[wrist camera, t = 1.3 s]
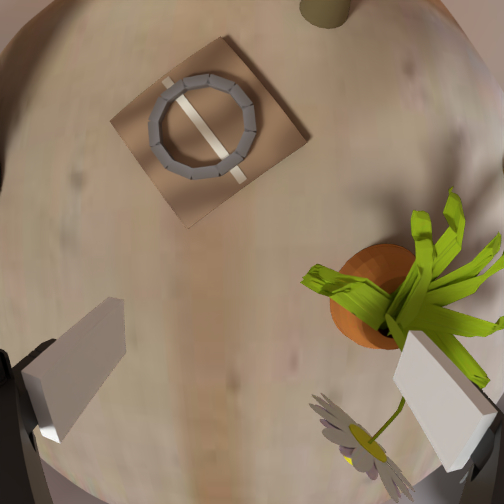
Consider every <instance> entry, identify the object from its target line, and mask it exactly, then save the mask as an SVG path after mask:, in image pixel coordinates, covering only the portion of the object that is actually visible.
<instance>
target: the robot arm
mask: <svg viewBox="0 0 504 504" xmlns="http://www.w3.org/2000/svg"><path fill="white" fill-rule="evenodd" d="M0 182H1V166H0ZM125 353H126V343H125V324H124V300H123V299H117V298H112V297H108V298H107V299H106V300H104V301H103V302H102V303H101V304H99V305H98V306H97V307H96V308H95V309H93V310H92V311H91V312H90V313H88V314H87V315H86V316H85V317H84V318H82V319H81V320H80V321H79V322H78V323H76V324H75V325H74V326H73V327H72V328H70V329H69V330H68V331H67V332H66V333H64V334H63V335H62V336H61V337H60V338H59V339H57V340H56V339H50V340H48V341H46V342H43V343H41V344H40V345H39V346H38V347H37V348H35V350H34V351H32V352H31V353H29V354H28V356H26V357H25V358H23V359H22V360H21V361H20V362H19V363H18V364H16V365H15V366H14V367H13V368H11V364H10V360H9V357H8V354H7V352H5V351H4V350H2V349H0V504H53V501H52V498H51V496H50V493H49V489H48V486H47V482H46V479H45V476H44V472H43V468H42V464H41V460H40V456H39V452H38V448H37V443H36V438H35V435H34V433H33V429H34V428H35V427H36V426H37V424H38V425H39V428H40V431H41V433H42V436H44V437H46V438H49V439H51V440H53V441H56V442H58V443H61V442H62V440H63V439H64V438H65V436H66V435H67V433H68V432H69V430H70V429H71V428H72V426H73V425H74V423H75V422H76V420H77V419H78V418H79V416H80V415H81V413H82V412H83V411H84V409H85V408H86V406H87V405H88V404H89V402H90V401H91V399H92V398H93V397H94V395H95V394H96V392H97V391H98V390H99V388H100V387H101V386H102V384H103V383H104V381H105V380H106V379H107V377H108V376H109V375H110V373H111V372H112V371H113V369H114V368H115V367H116V365H117V364H118V363H119V361H120V360H121V358H122V357H123V356H124V354H125ZM393 380H394V382H395V384H396V385H397V387H398V389H399V390H400V392H401V394H402V395H403V397H404V398H405V400H406V402H407V403H408V405H409V407H410V409H411V410H412V412H413V414H414V415H415V417H416V419H417V420H418V422H419V424H420V426H421V427H422V429H423V431H424V432H425V434H426V436H427V438H428V439H429V441H430V443H431V445H432V446H433V448H434V450H435V452H436V454H437V455H438V457H439V459H440V461H441V463H442V464H443V466H444V468H445V470H446V471H447V472H450V471H454V470H458V469H461V468H463V466H464V465H465V464H466V462H467V461H468V459H469V458H470V457H471V459H472V460H473V462H474V463H473V464H472V466H471V467H470V468H469V470H468V471H467V473H466V474H465V475H464V477H463V478H462V479H461V481H460V482H459V483H462V482H463V481H464V480H465V479H466V483H465V486H464V490H463V493H462V496H461V499H460V503H459V504H504V414H503V413H502V412H501V410H500V409H499V408H498V407H497V406H496V405H495V404H494V403H493V401H492V400H491V399H490V398H488V396H487V395H486V394H485V393H483V390H482V389H481V388H480V387H479V386H478V385H477V384H476V383H474V382H472V381H471V380H469V379H468V378H467V377H466V376H465V375H464V374H463V373H462V372H461V371H460V370H459V368H458V367H457V366H456V365H455V364H454V363H453V362H452V361H451V360H450V359H449V358H448V357H447V356H446V355H445V354H444V353H443V352H442V351H441V350H440V349H439V348H438V347H437V345H436V344H435V343H434V342H433V341H432V340H431V339H430V338H429V337H428V336H427V335H426V334H425V333H424V332H423V331H411V330H409V332H408V335H407V339H406V342H405V345H404V348H403V351H402V354H401V357H400V360H399V363H398V366H397V369H396V371H395V374H394V377H393Z"/></svg>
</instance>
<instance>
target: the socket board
mask: <svg viewBox="0 0 504 504" xmlns="http://www.w3.org/2000/svg"><path fill="white" fill-rule="evenodd" d="M110 122H111V124H112V125H113V127H114V128H115V130H116V131H117V132H118V134H119V135H120V137H121V138H122V140H123V141H124V142H125V144H126V145H127V147H128V148H129V150H130V151H131V153H132V154H133V155H134V157H135V158H136V160H137V161H138V162H139V164H140V165H141V167H142V168H143V169H144V171H145V172H146V174H147V175H148V176H149V178H150V179H151V181H152V182H153V183H154V185H155V186H156V188H157V189H158V190H159V192H160V193H161V195H162V196H163V197H164V199H165V200H166V201H167V203H168V204H169V205H170V207H171V208H172V210H173V211H174V212H175V214H176V215H177V216H178V218H179V219H180V220H181V222H182V223H183V224H184V226H185V227H186V229H188V228H190V227H191V226H192V225H194V224H195V223H196V222H198V221H199V220H200V219H202V218H203V217H204V216H206V215H207V214H208V213H210V212H211V211H212V210H214V209H215V208H216V207H218V206H219V205H220V204H222V203H223V202H224V201H226V200H227V199H228V198H230V197H231V196H233V195H234V194H235V193H237V192H238V191H239V190H241V189H242V188H243V187H245V186H246V185H248V184H249V183H250V182H252V181H253V180H255V179H256V178H257V177H259V176H260V175H262V174H263V173H264V172H266V171H267V170H269V169H270V168H272V167H273V166H274V165H276V164H277V163H279V162H280V161H282V160H283V159H284V158H286V157H287V156H289V155H290V154H292V153H293V152H295V151H296V150H298V149H299V148H300V147H302V146H303V145H305V144H306V143H307V142H306V140H305V139H304V138H303V136H302V135H301V134H300V132H299V131H298V129H297V128H296V127H295V125H294V124H293V123H292V122H291V120H290V119H289V118H288V116H287V115H286V114H285V112H284V111H283V110H282V109H281V107H280V106H279V105H278V103H277V102H276V101H275V100H274V98H273V97H272V96H271V95H270V93H269V92H268V91H267V90H266V88H265V87H264V86H263V85H262V84H261V82H260V81H259V80H258V79H257V78H256V76H255V75H254V74H253V73H252V72H251V70H250V69H249V68H248V67H247V66H246V65H245V63H244V62H243V61H242V60H241V59H240V58H239V56H238V55H237V54H236V53H235V52H234V51H233V50H232V49H231V47H230V46H229V45H228V44H227V43H226V42H225V41H224V40H223V39H222V38H221V37H219V38H217V39H216V40H214V41H213V42H211V43H210V44H208V45H207V46H205V47H204V48H202V49H201V50H199V51H198V52H196V53H195V54H193V55H192V56H190V57H189V58H187V59H186V60H185V61H183V62H182V63H180V64H179V65H178V66H176V67H175V68H173V69H172V70H171V71H169V72H168V73H167V74H165V75H164V76H163V77H161V78H160V79H159V80H158V81H156V82H155V83H154V84H152V85H151V86H150V87H149V88H147V89H146V90H145V91H144V92H143V93H141V94H140V95H139V96H138V97H136V98H135V99H134V100H133V101H132V102H131V103H129V104H128V105H127V106H126V107H125V108H124V109H122V110H121V111H120V112H119V113H118V114H117V115H116V116H115V117H114V118H112V119H111V120H110Z"/></svg>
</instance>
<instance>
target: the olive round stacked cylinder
mask: <svg viewBox="0 0 504 504" xmlns="http://www.w3.org/2000/svg"><path fill="white" fill-rule="evenodd" d="M350 3H351V0H301V2H300V11H301V14H302V16H303V17H304V18H305V19H306V20H307V21H308V22H310V23H311V24H312V25H315V26H317V27H320V28H326V29H330V28H336V27H339V26H341V25H342V24H343V23H344V22H345V21H346V19H347V16H348V12H349V8H350Z"/></svg>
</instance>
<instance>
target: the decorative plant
mask: <svg viewBox="0 0 504 504" xmlns="http://www.w3.org/2000/svg"><path fill="white" fill-rule="evenodd" d="M453 187H454V186H453ZM453 187H451V188H450V189H449V190H448V191H449V196H448V199H447V202H446V205H445V208H444V211H443V214H444V216H445V218H446V220H447V222H448V224H449V227H448V229H447V230H446V231H445V233H444V234H443V235H442V236H441V238H440V239H439V240H438V241H437V243H436V244H435V245H433V241H432V227H431V220H430V217H429V214H428V213H427V212H425V211H416V210H413V213H412V217H411V232H412V237H413V239H414V241H415V251H416V257H415V256H414V255H413V254H412V253H411V252H410V251H409V250H407V249H405V248H404V247H401V246H398V245H395V244H378V245H373V246H371V247H368V248H365V249H363V250H362V251H360V252H358V253H357V254H355V255H354V256H353V257H352V258H351V259H349V260H348V261H347V262H346V264H345V265H344V266H343V267H342V269H341V270H340V271H339V272H336V271H334V270H332V269H329V268H327V267H325V266H322V265H320V264H316V265H314V266H313V267H311V269H310V270H309V272H308V273H307V274H306V275H305V276H304V277H302V278H303V279H304V280H303V281H301V282H300V283H302V284H303V285H305V286H306V287H308V288H310V289H311V290H313V291H315V292H316V293H319V294H322V295H325V296H328V297H330V311H331V314H332V318H333V320H334V322H335V324H336V326H337V328H338V329H339V330H340V331H341V332H342V333H343V334H344V335H345V336H347V337H348V338H350V339H351V340H353V341H354V342H356V343H357V344H359V345H361V346H364V347H367V348H373V349H386V350H392V349H398V348H399V349H400V350H401V352H402V351H403V348H404V345H405V342H406V339H407V335H408V332H409V330H411V331H423V332H424V333H425V334H426V335H427V336H428V337H429V338H430V339H431V340H432V341H433V342H434V343H435V344H436V345H437V347H438V348H439V349H440V350H441V351H442V352H443V353H444V354H445V355H446V356H447V357H448V358H449V359H450V360H451V361H452V362H453V363H454V364H455V365H456V366H457V367H458V368H459V370H460V371H461V372H462V373H463V374H464V375H465V376H466V377H467V378H468V379H469V380H471V381H472V382H474V383H476V384H477V385H478V386H479V387H480V388H481V389H482V388H484V387H486V385H487V384H488V382H489V381H490V379H489V378H488V377H487V374H486V373H485V372H484V370H483V369H482V368H481V367H480V366H479V364H478V363H477V362H476V361H475V360H474V358H473V357H472V356H471V355H470V354H469V353H468V351H467V350H466V349H465V348H464V347H463V346H462V344H461V343H460V342H459V341H458V340H457V339H456V338H455V336H454V335H453V334H455V335H460V336H465V337H473V336H481V337H486V336H488V335H491V334H492V333H494V332H495V331H497V330H501V329H504V316H502V317H500V318H499V319H498V321H497V322H496V323H495V324H494V323H491V322H488V321H485V320H481V319H478V318H475V317H472V316H469V315H465V314H462V313H459V312H456V311H453V310H449V309H446V308H443V306H446V305H448V304H450V303H453V302H455V301H457V300H460V299H462V298H464V297H466V296H469V295H471V294H473V293H475V292H476V291H477V289H478V288H479V286H480V285H481V284H482V283H483V282H484V281H485V280H486V279H487V278H488V277H489V276H491V275H493V274H494V273H496V272H497V271H499V270H501V269H503V268H504V252H503V254H502V256H501V257H500V258H499V259H498V261H497V262H496V263H495V264H494V265H493V266H491V267H490V268H489V269H488V270H487V271H486V272H485V273H484V274H483V275H480V276H477V275H478V274H479V272H480V271H481V270H482V269H483V268H484V267H485V266H486V265H487V264H488V263H489V262H490V261H491V260H492V259H493V257H494V255H495V254H496V253H497V252H498V251H499V250H500V245H501V234H500V233H499V232H498V234H497V235H496V237H495V238H494V239H493V240H492V241H491V242H490V243H489V244H488V245H487V246H486V247H485V248H484V249H483V250H482V251H481V252H480V253H479V254H478V255H477V256H476V257H475V258H474V259H473V260H472V261H471V262H470V263H468V264H466V265H464V266H462V267H460V268H459V269H457V270H455V271H453V272H451V273H449V274H447V275H445V276H443V277H441V278H439V279H437V280H435V279H436V278H437V277H438V276H439V275H440V274H441V273H442V272H443V270H444V269H445V268H446V267H447V266H448V265H449V263H450V262H451V261H452V260H453V259H454V258H455V256H456V255H457V254H458V253H459V252H460V250H461V249H462V246H461V245H462V239H463V233H464V227H465V217H464V213H463V208H462V203H461V199H460V197H459V196H458V195H457V194H455V193H453V192H451V191H452V189H453ZM476 276H477V277H476ZM321 395H322V396H323V397H324V398H325V400H326V401H327V402H328V403H329V404H328V403H326V402H325V401H324V400H322V399H321V398H320V397H318V396H317V397H316V396H315V395H312V396H313V397H314V398H315V399H316V401H318V402H319V403H320V404H321V405H322V406H323V407H324V408H325V409H324V408H322V407H321V406H319V405H313V404H309V405H310V407H311V408H312V409H313V410H314V411H315V412H317V413H318V414H319V415H320V416H322V417H323V418H324V419H326V420H324V419H320V422H321V423H322V424H323V425H324V426H325V427H327V428H325V429H323V430H322V433H323V435H324V436H325V437H326V438H327V439H328V440H330V441H331V442H333V443H335V444H338V445H340V446H339V450H340V452H341V453H342V454H343V456H344V458H345V459H346V460H347V461H348V462H349V463H350V464H351V465H353V466H354V467H355V469H356V470H358V471H360V472H366V473H367V475H368V476H369V478H370V479H372V480H376V479H377V477H378V473H379V475H380V477H381V480H382V482H383V484H384V486H385V488H386V489H387V491H388V493H389V495H390V496H391V498H392V499H393V500H394V501H395V502H396V503H398V497H399V498H401V495H400V492H399V490H398V488H397V486H398V487H399V488H400V490H401V491H402V492H403V493H404V494H405V495H406V496H407V497H408V498H409V499H410V500H411V501H412V502H413V501H414V500H413V498H412V496H411V494H410V493H409V491H408V488H407V487H406V485H407V486H408V487H409V488H410V489H411V490H413V491H414V492H415V490H414V489H413V487H412V486H411V484H410V483H409V482H408V481H407V479H406V478H405V477H404V476H403V474H402V473H401V472H402V471H401V470H400V469H399V468H398V466H397V465H396V464H395V463H394V462H393V461H392V460H391V459H390V458H389V457H387V456H386V455H385V453H386V451H385V450H384V448H383V447H382V446H381V445H380V444H378V443H377V442H376V441H374V440H375V439H376V438H377V437H378V436H379V435H380V434H381V433H382V432H383V431H384V430H385V429H386V428H387V426H388V425H389V424H390V423H391V422H392V421H393V420H394V419H395V417H396V416H397V415H398V414H399V413H400V412H401V410H402V408H403V406H404V403H405V401H406V400H405V398H404V397H402V399H401V402H400V404H399V407H398V409H397V411H396V412H395V413H394V414H393V416H392V417H391V418H390V419H389V420H388V421H387V422H386V423H385V424H384V426H383V427H382V428H381V429H380V430H379V431H378V432H377V433H376V434H375V435H374V436H373V437H372V436H371V435H370V434H369V433H368V432H367V431H366V430H365V429H364V428H363V427H362V426H361V425H360V424H357V423H356V422H355V421H354V420H353V419H352V418H350V417H349V416H348V415H347V414H346V413H345V412H344V411H343V410H342V409H341V408H339V407H338V406H337V405H335V404H334V403H333V402H332V401H331V400H330V399H328V398H327V397H326V396H325V395H324V394H322V393H321ZM386 462H387V463H388V464H389V465H390V466H391V467H392V468H391V467H390V466H389V465H388V464H387V463H386ZM393 470H394V471H395V472H396V473H395V472H394V471H393ZM399 477H400V478H401V479H402V480H403V481H402V480H401V479H400V478H399ZM403 482H404V483H405V484H406V485H405V484H404V483H403ZM395 483H396V484H395ZM396 485H397V486H396Z"/></svg>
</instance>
